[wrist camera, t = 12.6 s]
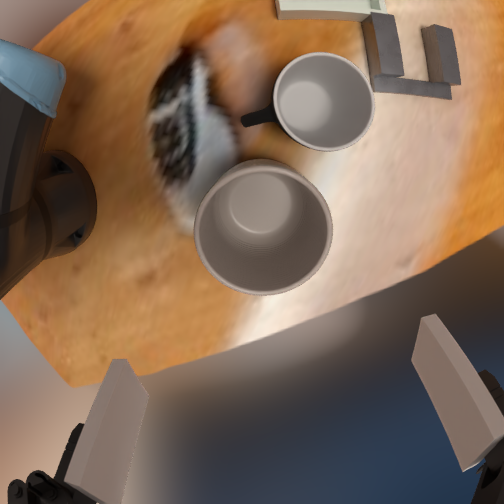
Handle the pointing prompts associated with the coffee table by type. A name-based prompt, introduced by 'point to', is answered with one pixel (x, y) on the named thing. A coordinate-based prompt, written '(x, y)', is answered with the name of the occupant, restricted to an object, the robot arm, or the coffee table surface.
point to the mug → (319, 102)
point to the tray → (329, 9)
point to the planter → (263, 228)
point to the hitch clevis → (391, 66)
